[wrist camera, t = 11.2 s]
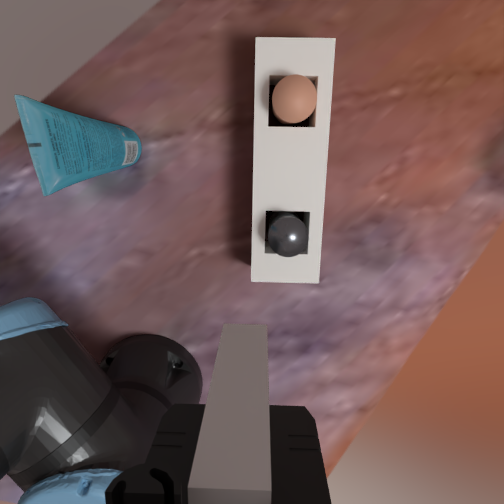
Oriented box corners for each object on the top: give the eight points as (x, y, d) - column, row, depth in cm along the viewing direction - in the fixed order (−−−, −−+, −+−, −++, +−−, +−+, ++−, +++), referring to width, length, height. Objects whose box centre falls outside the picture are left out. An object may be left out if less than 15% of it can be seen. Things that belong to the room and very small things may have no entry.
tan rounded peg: (269, 126, 45) (271, 122, 38) (271, 86, 44) (272, 73, 36) (307, 126, 45) (315, 122, 38) (309, 86, 43) (318, 74, 36)
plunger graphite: (266, 241, 48) (267, 256, 41) (267, 206, 47) (268, 217, 40) (301, 241, 48) (307, 257, 41) (302, 207, 47) (310, 217, 40)
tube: (94, 121, 46) (-18, 103, 28) (132, 111, 46) (43, 86, 27) (114, 181, 48) (21, 201, 29) (150, 172, 48) (79, 187, 29)
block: (252, 266, 50) (251, 281, 45) (256, 52, 44) (255, 37, 38) (312, 267, 50) (318, 283, 45) (325, 53, 43) (335, 38, 38)
